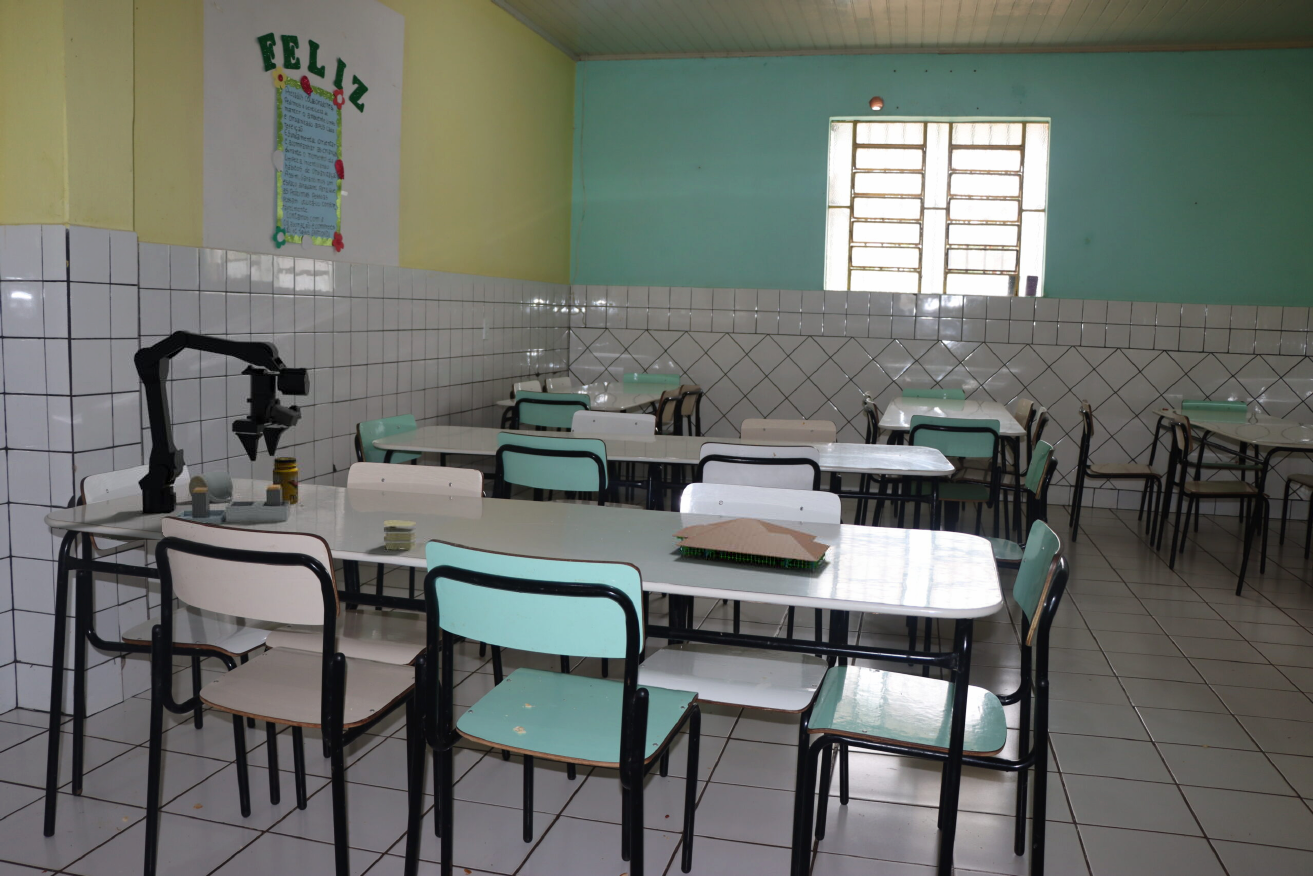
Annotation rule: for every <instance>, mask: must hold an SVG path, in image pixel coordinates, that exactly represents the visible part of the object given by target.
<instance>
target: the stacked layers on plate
mask: <svg viewBox="0 0 1313 876" xmlns="http://www.w3.org/2000/svg"><path fill="white" fill-rule="evenodd" d="M416 523H417V522H416V521H408V520H400V519H399V520H396V519H394V520H393V519H390V520H384V521H383V526H384V527H383V533H385V536H384V537H383V542H384V543H385V549H386V548H388V549H395V548H404V549H403V550H406V549H411V548H412V547H413V546H414V547H415V540H417V537H416V535H415V532H416V531H417V529H418V528H417V527H413V526H414V525H415V524H416ZM414 547H413V548H414ZM413 548H412V549H413ZM388 549H387V550H388ZM412 549H411V550H412ZM395 550H396V549H395Z"/></svg>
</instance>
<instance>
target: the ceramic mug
mask: <svg viewBox="0 0 1313 876" xmlns="http://www.w3.org/2000/svg"><path fill="white" fill-rule="evenodd" d="M195 488H208V490H209V499H210V502H212V503H214V504H229V503H230V502H231V501H233V500H234V499H233V498H234V494H233V490H234V483H233V481H232V478H231V476H230V474H229V472H227V471H225V470H222V469H217V470H212V471H209V472H206V473H205V472H204V473H201V474H200V473H199V474H197V475H195V476H193V477H192V478H191V479H190V481H189V483H188V491H189V494H190V497H191V498H192V492H193V491H194V489H195Z"/></svg>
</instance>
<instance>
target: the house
mask: <svg viewBox="0 0 1313 876" xmlns="http://www.w3.org/2000/svg"><path fill="white" fill-rule="evenodd" d="M671 537H675V538H676V539H678V540H679V539H680V541H679V542H678V543H676V544H675V546H680V553H679V554H681V553H682V554H683V553H685V551H686V550H687V549H688V552H687V555H689V553H691V554H693V552H692V551H690V548H694V549H699V550H698V552H697V550H695V552H694V555H696V556H697V554H698V555H700V553H699V552H701V549H702V551H705V550H706V554H705V557H706V556H708V555H709V554H710V557H711V558H712V556H711V553H712V552H713V553H715V550H716V551H719V552H720V555H721V556H720V558H722V557H723V558H727V556H726V553H727V552H728V553H731V552H732V553H736V557H734V556H732V557H730V556H728V559H730V558H732V559H733V560H734V559H735V560H737V559H739V560H741V559H742V560H744V557H743V558H741V557H739V558H738V555H737V553H739V555H741V554H746V555H751V556H750V558H751V559H749V557H747V558H745V560H746V561H750V562H752V561H753V558H752V557H753V556H752V555H754V558H756V557H757V556H762V557H770V558H769V564H771V563H773V564H775V561H772V560H771V557H773V560H775V558H780V559H785V562H781V565H785V567H786V566H787V567H788V565H790V566H792V565H793V566H796V567H799V566H801V567H802V566H804V567H805V568H807V567H809V568H811V565H809V566H808V565H807V561H808V562H809V561H810V564H811V563H812V570H813V569H814V567H815V566H816V565H817V564H818V563H819V562H820V560H823V557H824V556H825V557H826V552H827V551H828V550H829V549H830V548H831V545H829V544H825V543H820V542H817V541H815V539H816V538H817V537H818V536H817V535H813V534H810V533H807V532H802V531H799V530H795V529H792V528H788V527H785V526H781V525H778V524H774V523H771V522H767V521H764V520H760V519H756V518H750V517H740V518H736V519H730V520H724V521H718V522H713V523H708V524H696V525H691V526H686V527H684V528H682V529H681V530H679V531H678V532H677V531H676V533H674V534H672V536H671ZM682 547H683V550H681V548H682ZM722 551H724V555H725V556H723V554H722ZM713 557H716V554H714V555H713ZM793 559H796V560H795V561H794V562H793V564H791V563H790V564H789V562H790V561H792V560H793ZM767 560H768V558H766V561H765V560H764V561H761V562H762V563H764V562H765V563H768V561H767ZM756 561H758V562H760V559H758V560H757V559H756ZM796 561H797V564H796ZM800 561H801V565H800ZM804 561H805V562H806V563H805V565H803V563H804ZM790 566H789V567H790Z"/></svg>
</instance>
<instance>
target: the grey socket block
mask: <svg viewBox="0 0 1313 876" xmlns="http://www.w3.org/2000/svg"><path fill="white" fill-rule="evenodd" d="M225 510H226V518H225V523H251V522H252V523H257V522H258V523H259V522H262V523H265V522H287V521H289V519H290V517H291V505H290V501H282V506H267V504H266V500H241V501H240V500H238V501H237V500H235V501H234V500H232V501H231V502H230V503H227V504H226V506H225Z"/></svg>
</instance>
